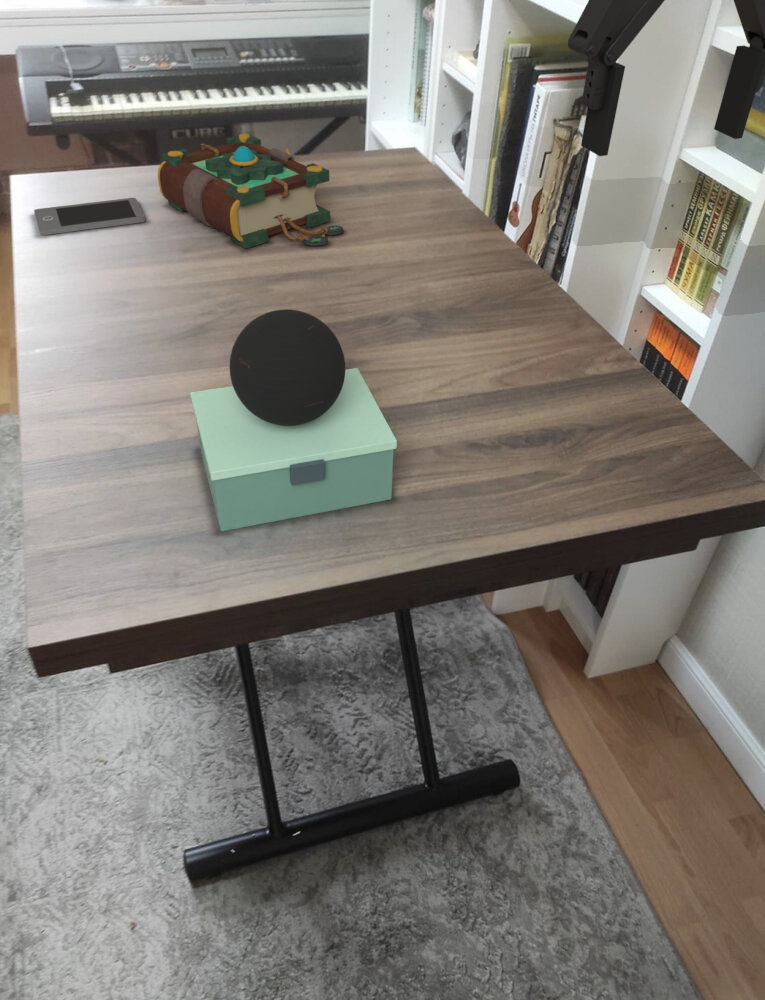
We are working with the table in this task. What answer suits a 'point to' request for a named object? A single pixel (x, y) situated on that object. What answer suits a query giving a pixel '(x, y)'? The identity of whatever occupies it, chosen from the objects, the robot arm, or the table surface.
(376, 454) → the box
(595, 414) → the table surface
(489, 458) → the table surface
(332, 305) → the table surface
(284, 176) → the book
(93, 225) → the smartphone
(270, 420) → the speaker
